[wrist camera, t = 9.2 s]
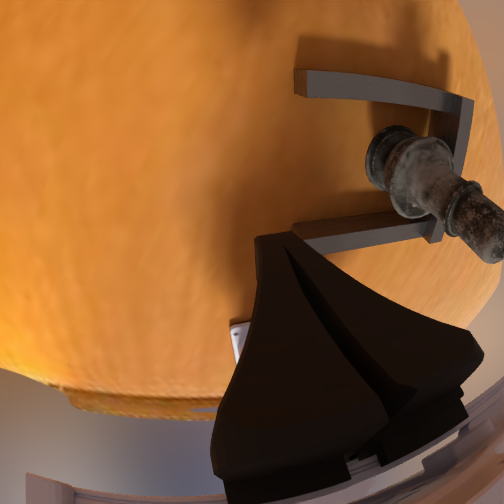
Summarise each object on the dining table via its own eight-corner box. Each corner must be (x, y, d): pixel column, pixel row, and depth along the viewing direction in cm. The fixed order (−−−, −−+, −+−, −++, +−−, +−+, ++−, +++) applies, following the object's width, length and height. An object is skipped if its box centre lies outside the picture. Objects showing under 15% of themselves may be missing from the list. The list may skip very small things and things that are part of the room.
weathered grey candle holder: (415, 110, 16) (557, 189, 7) (427, 176, 19) (533, 269, 10) (351, 139, 17) (495, 248, 7) (371, 206, 20) (472, 324, 11)
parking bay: (421, 222, 22) (441, 241, 20) (292, 241, 21) (305, 268, 18) (445, 90, 15) (474, 100, 13) (294, 69, 13) (314, 71, 11)
